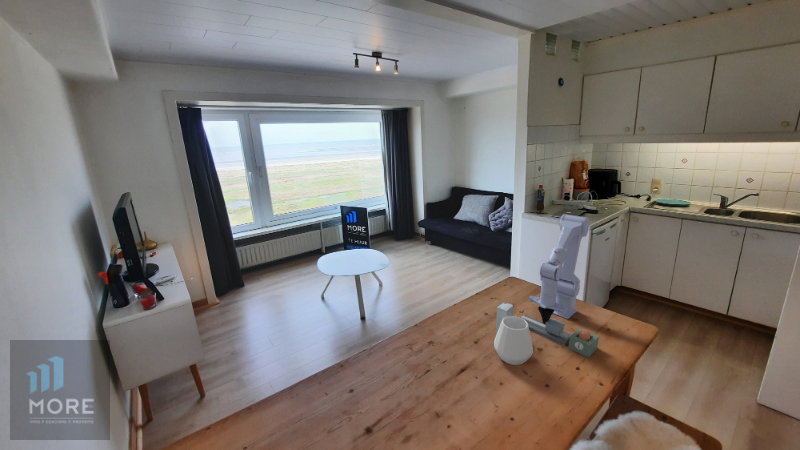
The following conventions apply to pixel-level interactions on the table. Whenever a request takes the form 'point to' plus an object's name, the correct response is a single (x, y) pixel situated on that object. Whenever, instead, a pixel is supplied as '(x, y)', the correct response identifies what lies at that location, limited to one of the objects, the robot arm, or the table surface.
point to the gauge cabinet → (583, 343)
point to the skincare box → (503, 313)
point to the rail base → (540, 329)
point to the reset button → (584, 335)
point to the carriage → (554, 326)
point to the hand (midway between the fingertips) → (545, 323)
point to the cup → (513, 341)
